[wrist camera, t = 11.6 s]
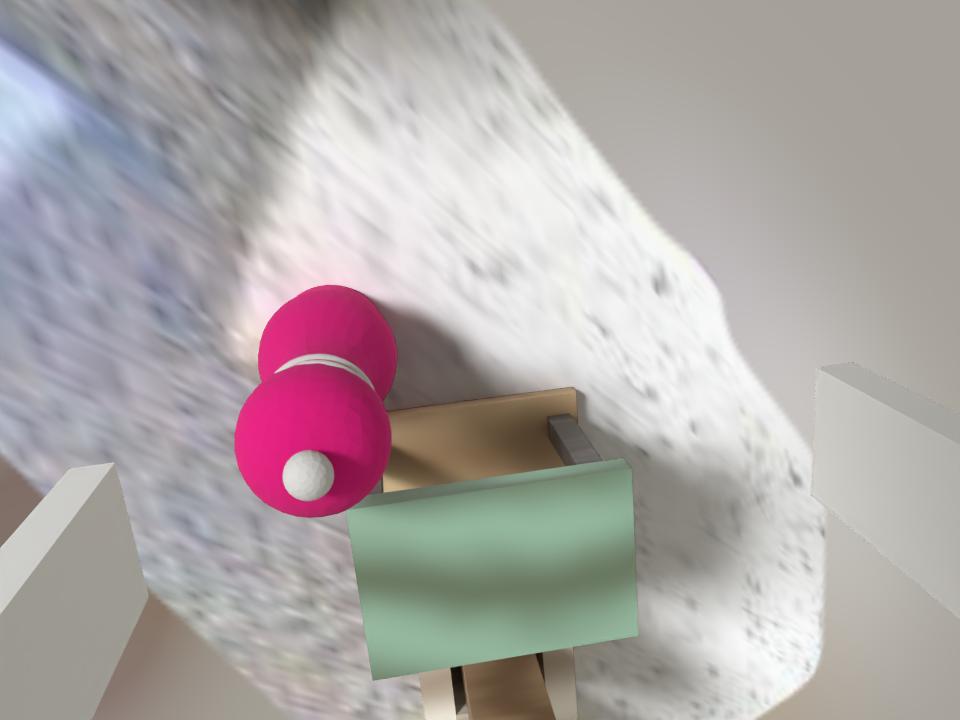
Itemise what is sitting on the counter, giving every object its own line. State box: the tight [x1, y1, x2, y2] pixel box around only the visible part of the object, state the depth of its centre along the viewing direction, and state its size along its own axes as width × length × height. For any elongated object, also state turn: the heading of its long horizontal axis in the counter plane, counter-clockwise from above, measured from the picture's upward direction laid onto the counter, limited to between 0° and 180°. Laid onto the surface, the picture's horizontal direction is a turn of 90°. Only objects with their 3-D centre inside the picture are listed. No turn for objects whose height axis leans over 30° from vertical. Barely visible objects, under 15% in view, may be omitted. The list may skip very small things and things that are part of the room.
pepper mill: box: [235, 285, 397, 518], centre depth 36 cm, size 7×7×20 cm
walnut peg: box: [460, 653, 556, 720], centre depth 44 cm, size 4×4×15 cm
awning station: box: [346, 387, 638, 720], centre depth 44 cm, size 19×14×13 cm
